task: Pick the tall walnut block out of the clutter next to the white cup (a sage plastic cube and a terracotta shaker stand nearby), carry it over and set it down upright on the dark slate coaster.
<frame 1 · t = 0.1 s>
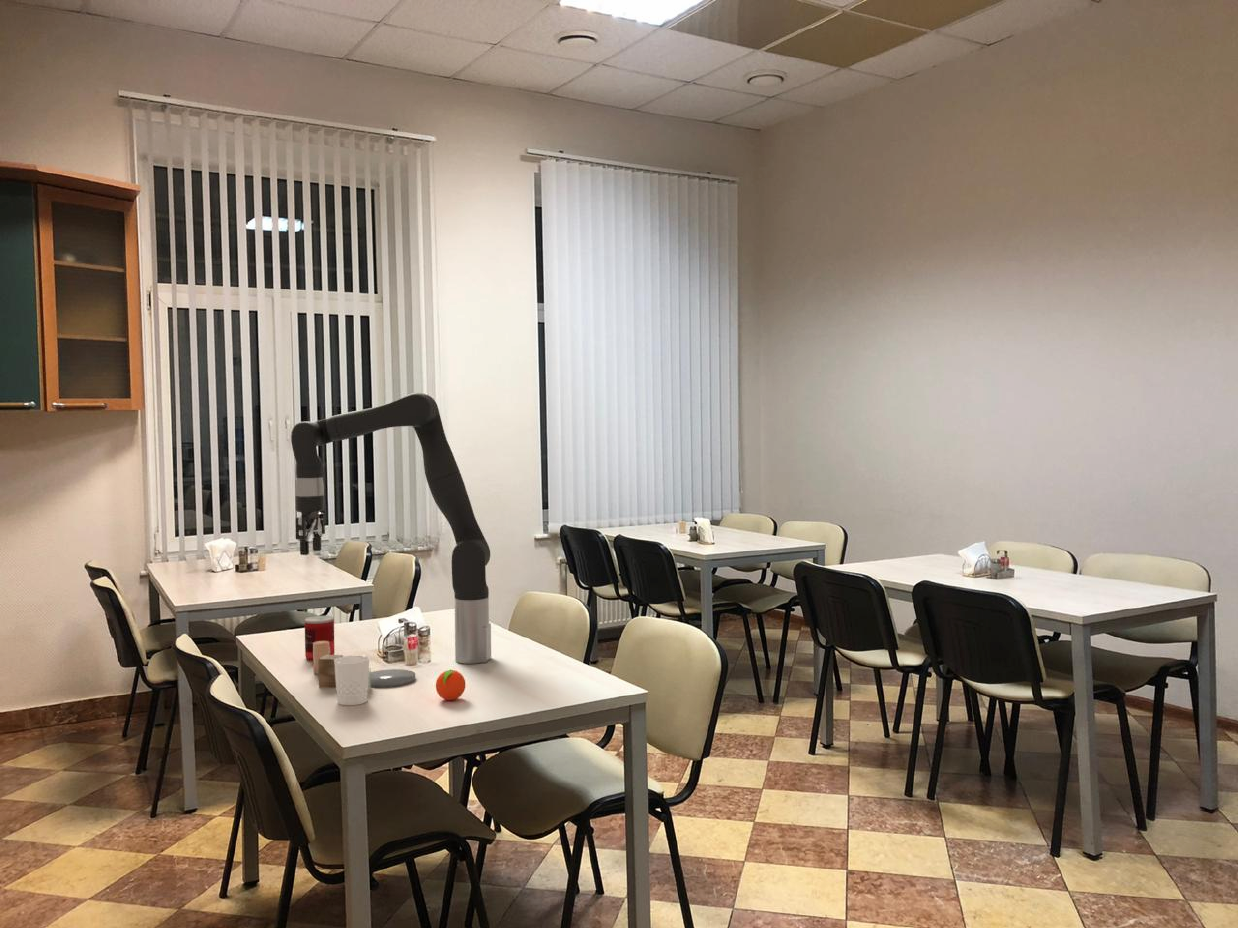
hand: (311, 552, 268), 29 cm above the table, fingers open, 8 cm apart
white cup: (352, 702, 226), on the table
walnut block: (331, 684, 241), on the table
sage cube: (359, 691, 235), on the table
clementine: (450, 701, 227), on the table
terracotta shaker: (321, 672, 253), on the table
canned food: (320, 658, 269), on the table
slate coaster: (389, 680, 245), on the table
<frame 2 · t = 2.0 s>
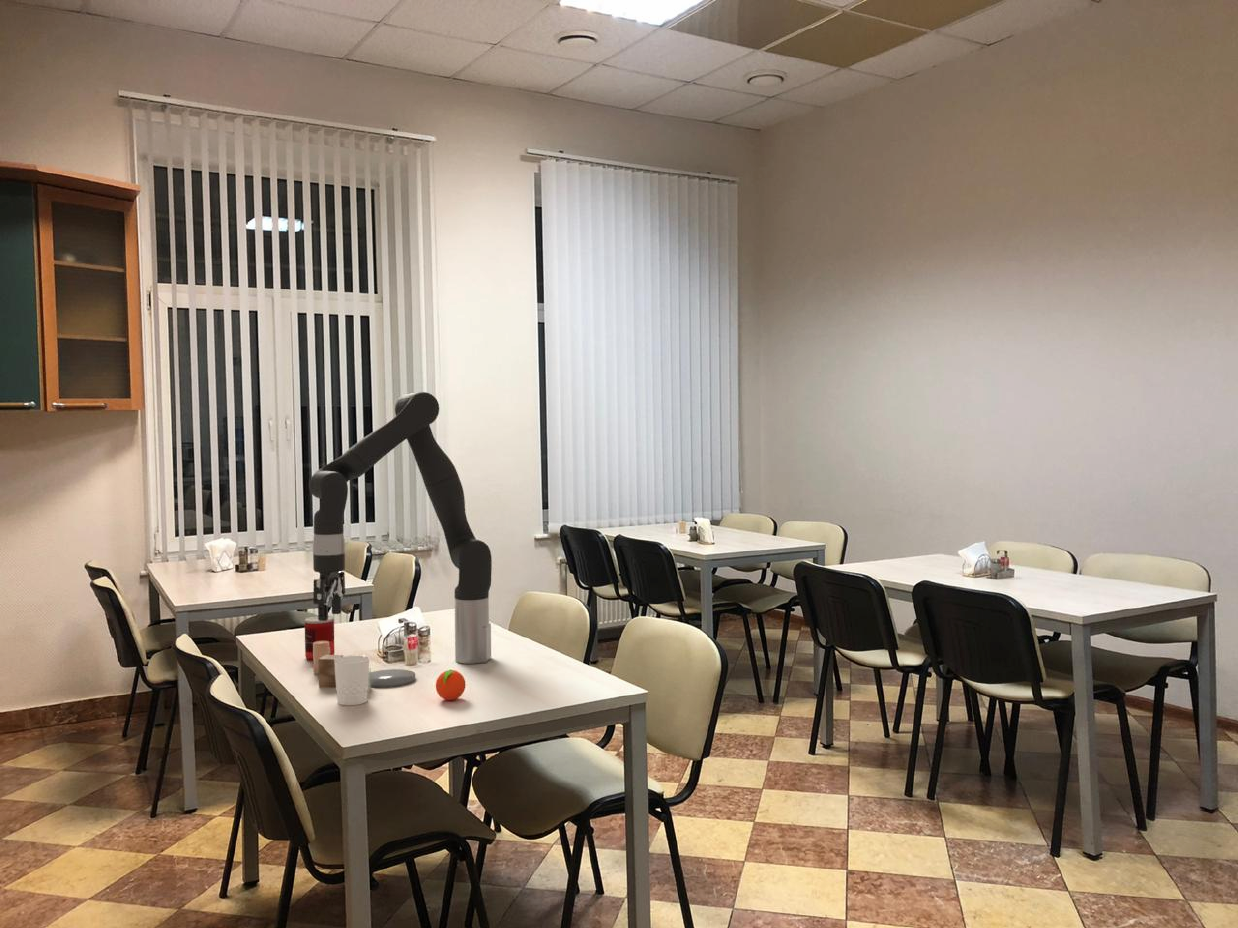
hand: (330, 616, 240), 17 cm above the table, fingers open, 8 cm apart
nothing on the table moved.
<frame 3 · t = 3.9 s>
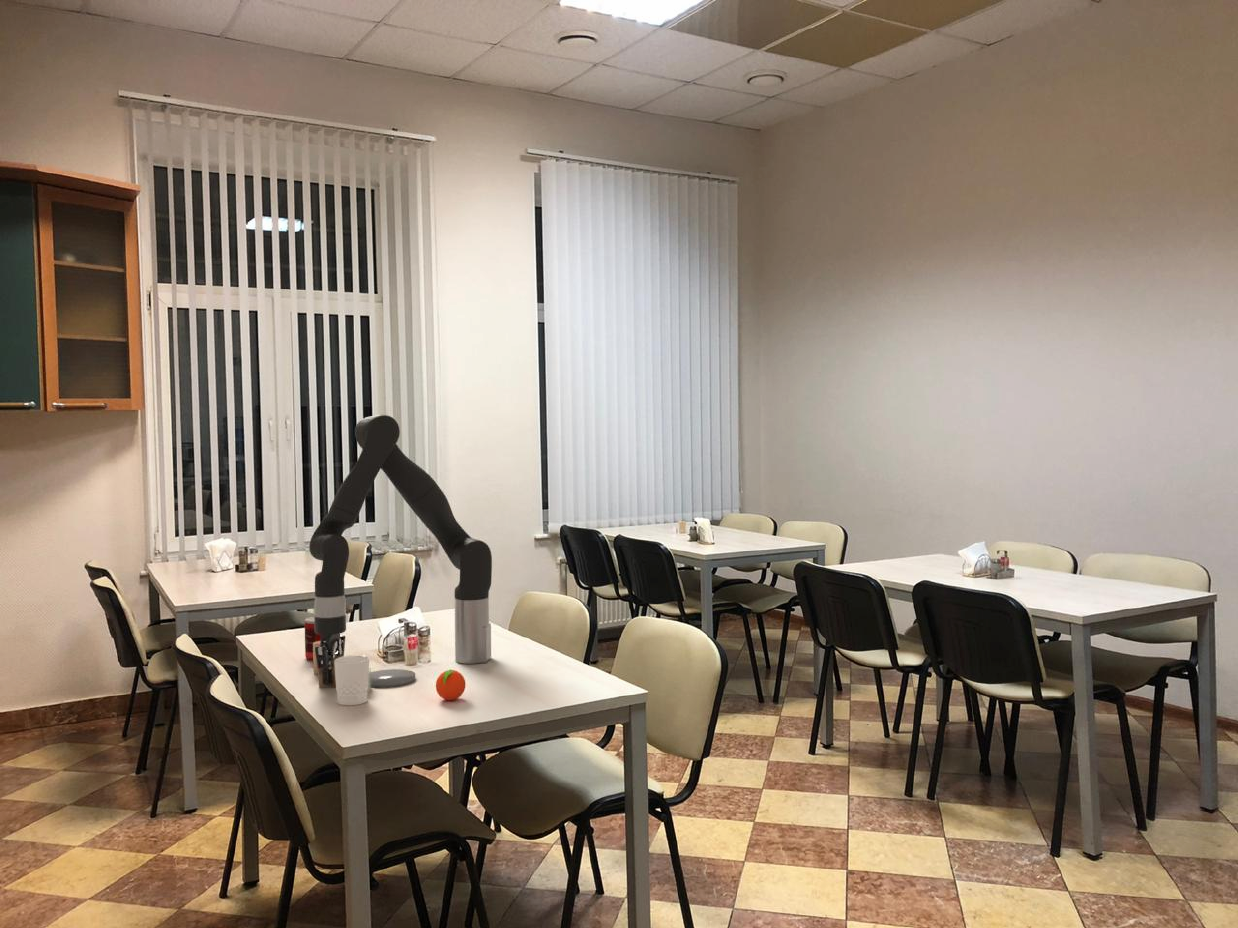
hand: (331, 681, 241), 1 cm above the table, fingers closed on walnut block, 4 cm apart
walnut block: (331, 684, 241), on the table, touching gripper
everything else where it was.
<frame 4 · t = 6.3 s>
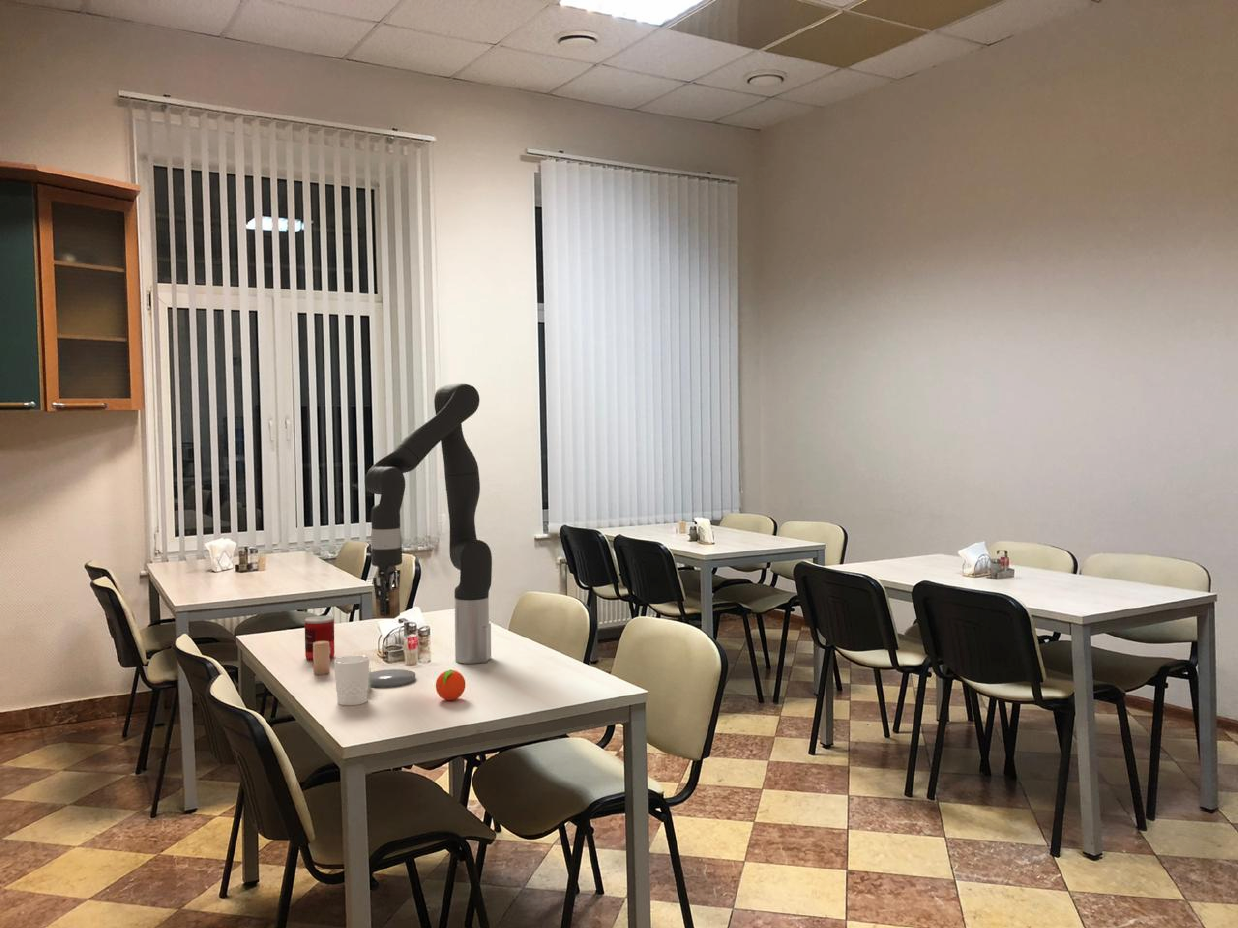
hand: (388, 613, 244), 17 cm above the table, fingers closed on walnut block, 4 cm apart
walnut block: (388, 616, 244), point 16 cm above the table, touching gripper
everything else where it was.
when the fingers open (4 cm above the table, at t = 8.8 s): walnut block drops 2 cm, resting on slate coaster.
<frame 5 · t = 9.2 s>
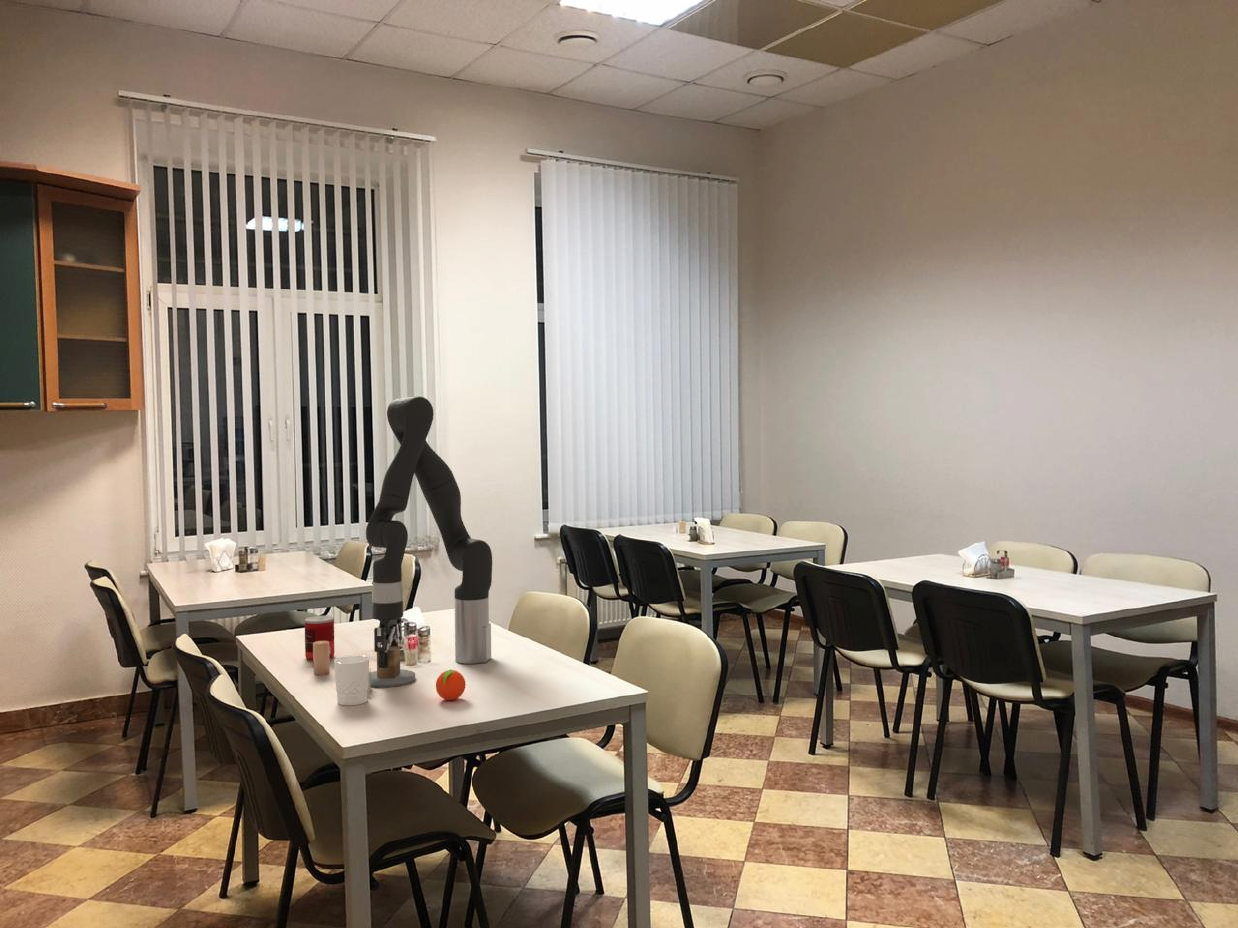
hand: (388, 663, 245), 4 cm above the table, fingers open, 8 cm apart
walnut block: (388, 675, 245), point 1 cm above the table, touching slate coaster
everything else where it was.
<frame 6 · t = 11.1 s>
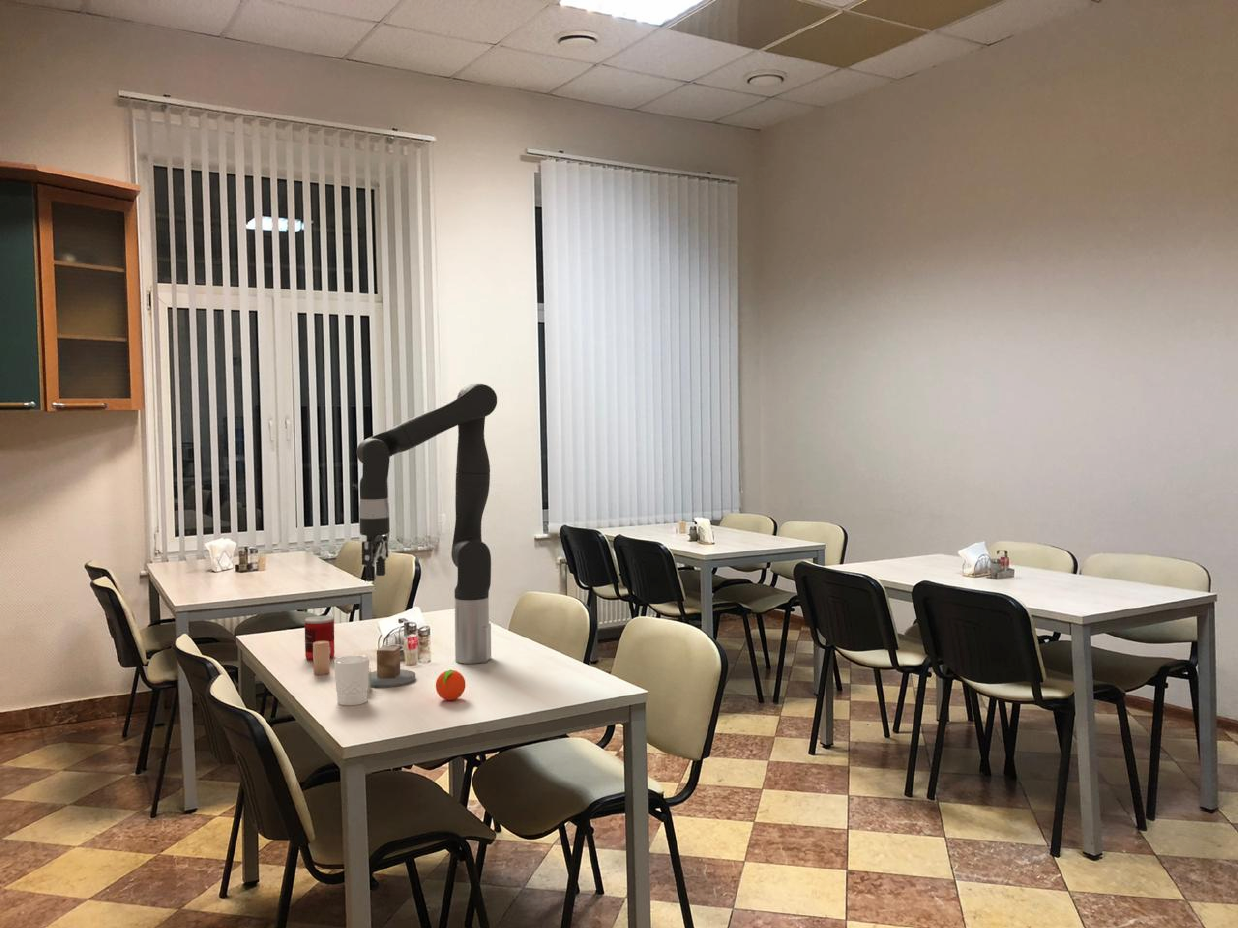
hand: (375, 578, 252), 25 cm above the table, fingers open, 8 cm apart
nothing on the table moved.
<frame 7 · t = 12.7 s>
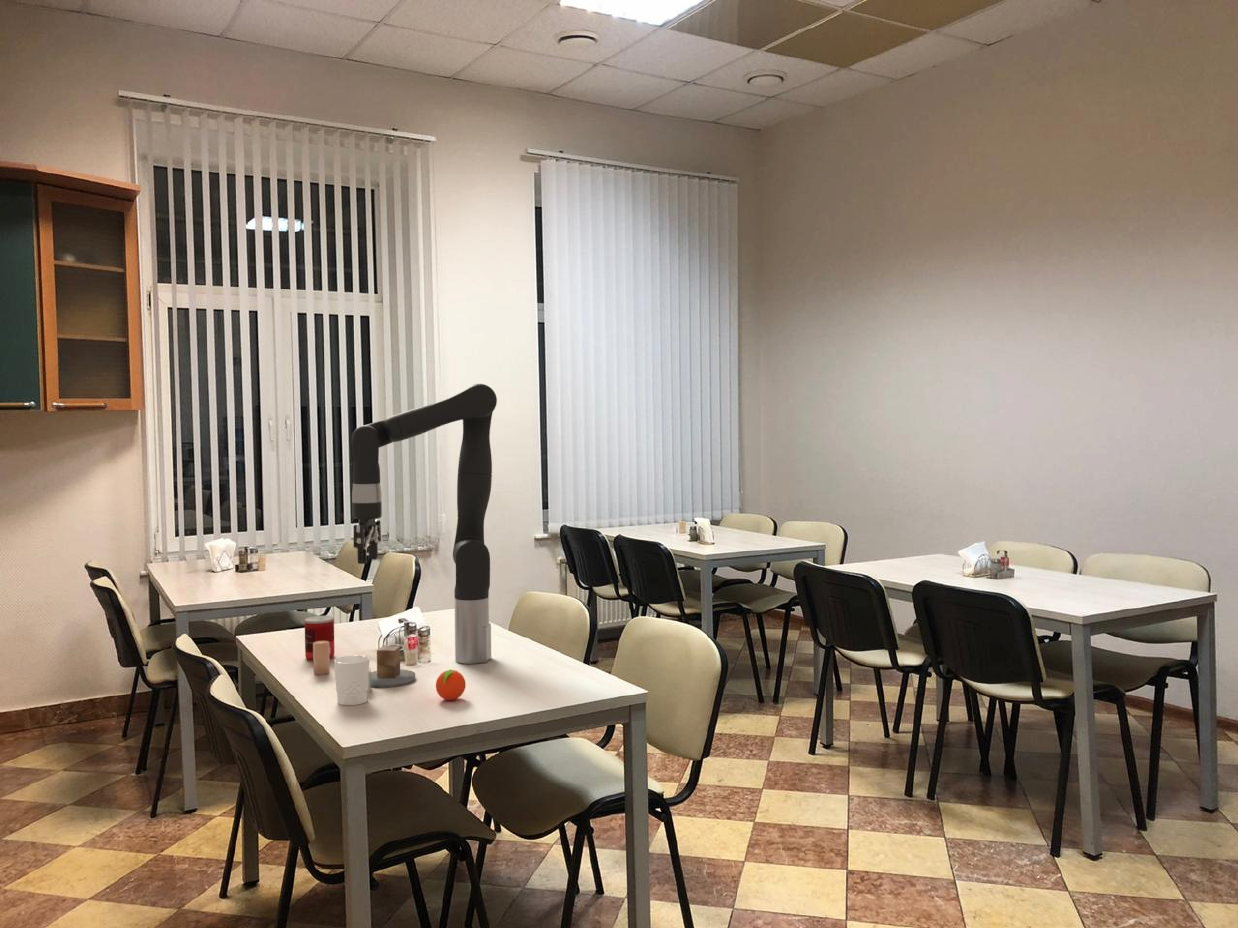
hand: (367, 561, 258), 28 cm above the table, fingers open, 8 cm apart
nothing on the table moved.
at the end: walnut block inside the target area on the slate coaster (0.1 cm from its centre), point 1.2 cm above the slate coaster's base; walnut block tilted 0°; the gripper is holding nothing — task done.
